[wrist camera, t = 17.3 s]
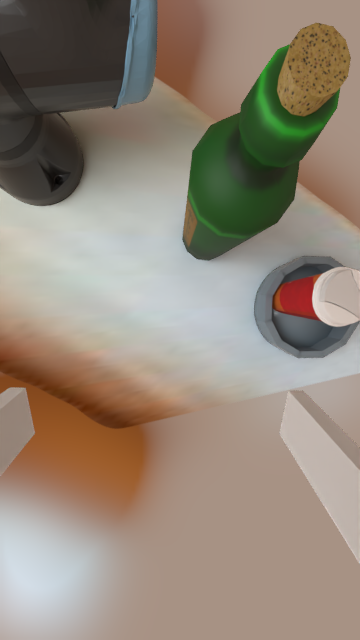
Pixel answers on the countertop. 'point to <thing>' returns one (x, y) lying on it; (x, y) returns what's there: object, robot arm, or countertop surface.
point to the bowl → (292, 330)
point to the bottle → (263, 144)
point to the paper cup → (322, 297)
